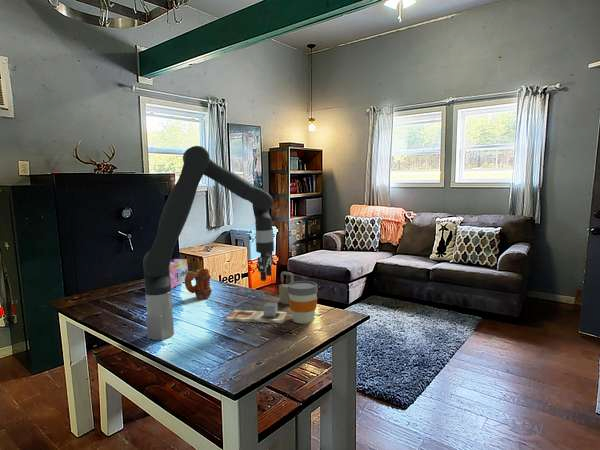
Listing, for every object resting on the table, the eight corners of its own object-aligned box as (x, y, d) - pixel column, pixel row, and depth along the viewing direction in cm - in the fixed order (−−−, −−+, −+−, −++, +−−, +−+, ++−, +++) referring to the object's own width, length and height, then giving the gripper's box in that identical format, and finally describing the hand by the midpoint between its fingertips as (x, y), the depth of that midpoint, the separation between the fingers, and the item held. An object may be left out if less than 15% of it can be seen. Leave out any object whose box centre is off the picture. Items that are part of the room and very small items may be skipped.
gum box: (178, 279, 230) (177, 257, 228) (190, 280, 228) (189, 257, 227) (155, 291, 207) (153, 266, 205) (168, 291, 205) (167, 267, 204)
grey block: (275, 320, 158) (274, 306, 158) (263, 319, 159) (263, 306, 159) (278, 316, 163) (277, 302, 163) (266, 315, 164) (266, 302, 164)
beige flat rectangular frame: (287, 314, 165) (287, 311, 165) (282, 323, 155) (282, 320, 155) (234, 312, 169) (234, 310, 169) (226, 321, 160) (226, 318, 159)
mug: (206, 293, 199) (204, 265, 198) (216, 296, 194) (214, 267, 192) (181, 300, 188) (180, 271, 186) (191, 304, 183) (189, 273, 181)
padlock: (283, 300, 185) (282, 270, 184) (297, 303, 181) (296, 272, 179) (278, 302, 182) (277, 271, 180) (291, 305, 177) (291, 274, 176)
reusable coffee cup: (321, 315, 163) (320, 281, 162) (314, 326, 151) (313, 289, 150) (293, 313, 167) (292, 280, 165) (284, 323, 155) (283, 288, 153)
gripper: (268, 243, 152) (270, 282, 154) (277, 237, 166) (278, 273, 168) (250, 243, 153) (252, 282, 155) (260, 237, 167) (262, 273, 169)
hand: (266, 278), depth 161 cm, fingers open, 8 cm apart
